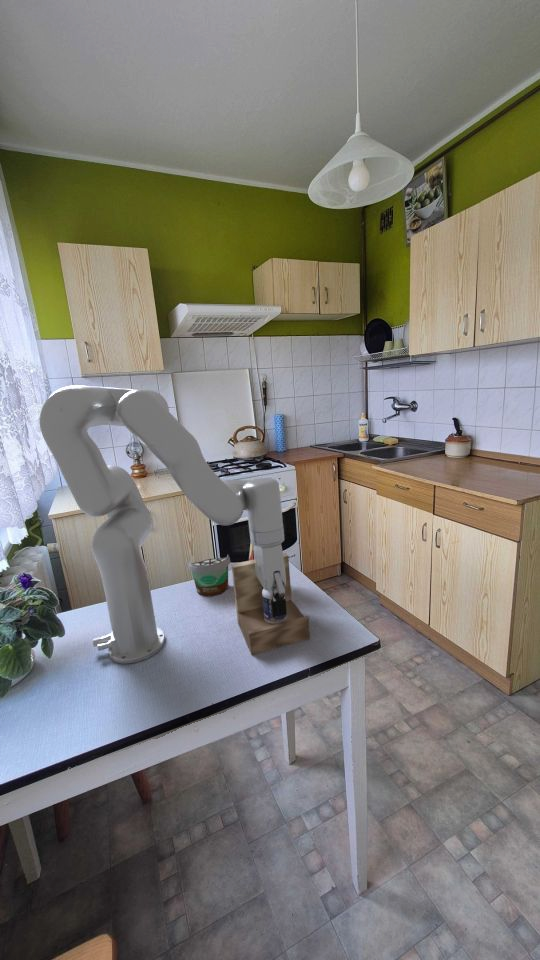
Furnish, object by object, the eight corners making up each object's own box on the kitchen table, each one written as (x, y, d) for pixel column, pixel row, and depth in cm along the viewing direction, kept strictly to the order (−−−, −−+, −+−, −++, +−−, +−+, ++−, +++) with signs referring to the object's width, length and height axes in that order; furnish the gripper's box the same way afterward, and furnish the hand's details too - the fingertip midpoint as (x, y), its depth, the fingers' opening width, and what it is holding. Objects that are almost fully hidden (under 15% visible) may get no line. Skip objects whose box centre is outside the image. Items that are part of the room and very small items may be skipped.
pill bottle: (270, 627, 87) (266, 588, 84) (260, 615, 91) (257, 578, 89) (291, 620, 89) (288, 581, 87) (280, 609, 94) (277, 572, 91)
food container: (192, 602, 108) (188, 569, 106) (191, 592, 114) (187, 560, 111) (236, 593, 111) (232, 561, 108) (232, 584, 116) (229, 553, 114)
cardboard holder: (251, 654, 84) (244, 588, 81) (237, 623, 96) (231, 564, 93) (309, 638, 88) (305, 574, 85) (289, 609, 100) (285, 553, 97)
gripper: (242, 525, 92) (250, 593, 96) (260, 551, 76) (269, 631, 80) (271, 520, 94) (278, 586, 98) (296, 544, 78) (303, 622, 81)
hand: (274, 606), depth 89 cm, fingers open, 6 cm apart
